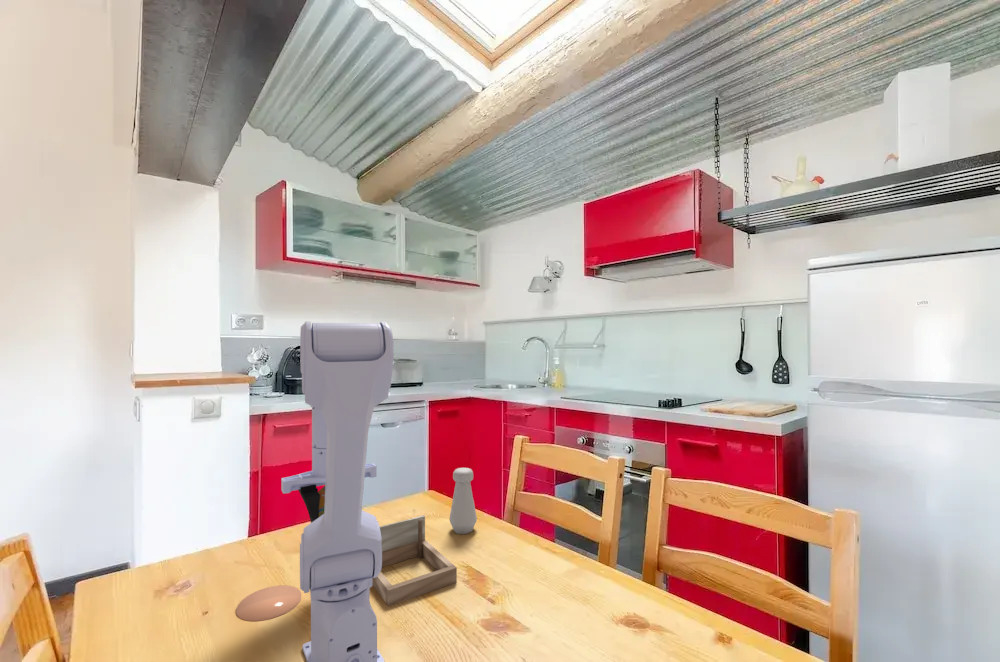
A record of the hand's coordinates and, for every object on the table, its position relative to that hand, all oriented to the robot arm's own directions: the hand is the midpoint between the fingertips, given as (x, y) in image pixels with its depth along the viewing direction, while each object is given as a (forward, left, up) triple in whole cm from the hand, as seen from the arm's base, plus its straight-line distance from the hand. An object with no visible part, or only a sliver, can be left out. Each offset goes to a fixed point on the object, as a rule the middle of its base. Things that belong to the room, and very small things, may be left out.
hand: (331, 527), depth 74 cm
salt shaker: (+8, -29, -11) cm, 32 cm away
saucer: (+2, +9, -10) cm, 14 cm away
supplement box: (0, 0, -4) cm, 4 cm away
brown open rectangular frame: (-3, -12, -10) cm, 16 cm away
